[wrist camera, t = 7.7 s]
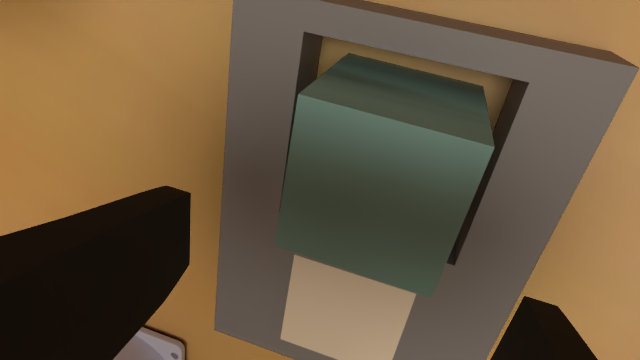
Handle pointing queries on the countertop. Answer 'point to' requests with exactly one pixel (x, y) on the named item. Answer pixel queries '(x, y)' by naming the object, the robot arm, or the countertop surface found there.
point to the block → (383, 170)
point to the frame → (482, 217)
